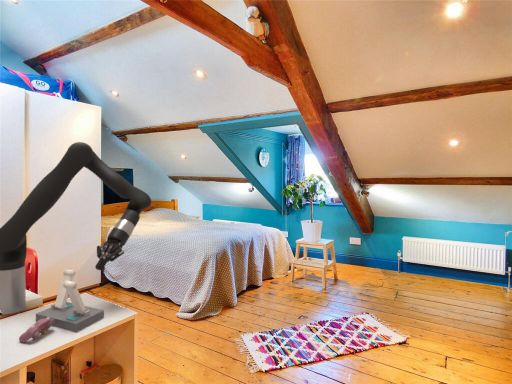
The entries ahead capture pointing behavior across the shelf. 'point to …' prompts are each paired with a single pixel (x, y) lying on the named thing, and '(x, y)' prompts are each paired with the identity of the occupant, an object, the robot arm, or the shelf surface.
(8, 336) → the shelf surface
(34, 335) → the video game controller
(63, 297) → the lever
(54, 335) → the shelf surface
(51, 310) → the switch base
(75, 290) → the lever
